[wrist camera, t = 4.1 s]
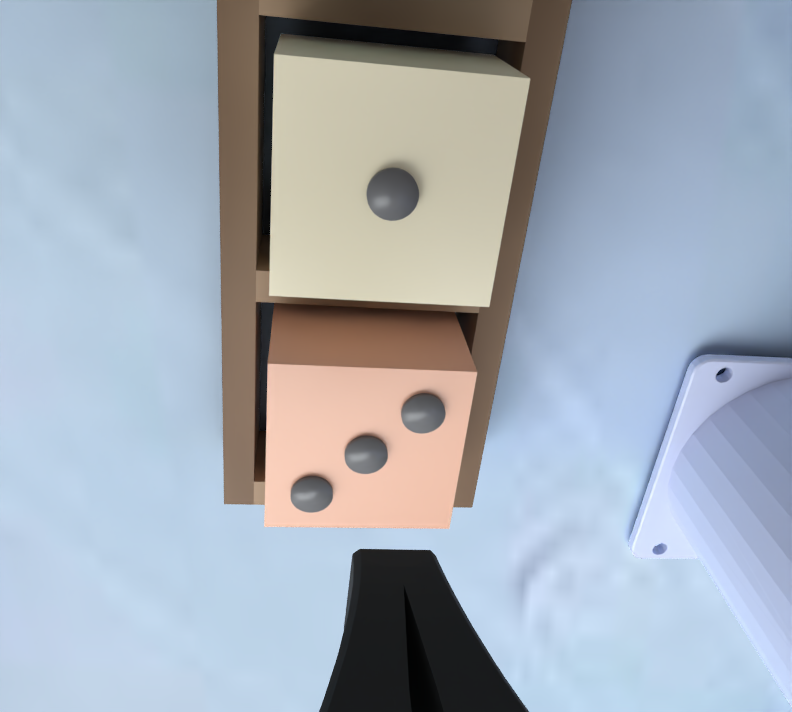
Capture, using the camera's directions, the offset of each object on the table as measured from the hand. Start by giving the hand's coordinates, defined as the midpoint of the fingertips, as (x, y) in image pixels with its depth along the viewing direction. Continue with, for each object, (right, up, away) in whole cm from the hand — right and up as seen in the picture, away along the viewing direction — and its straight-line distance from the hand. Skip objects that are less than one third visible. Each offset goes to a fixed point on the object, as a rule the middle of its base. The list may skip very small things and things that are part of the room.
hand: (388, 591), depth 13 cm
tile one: (0, +9, +4) cm, 10 cm away
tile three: (-1, +3, +7) cm, 8 cm away
